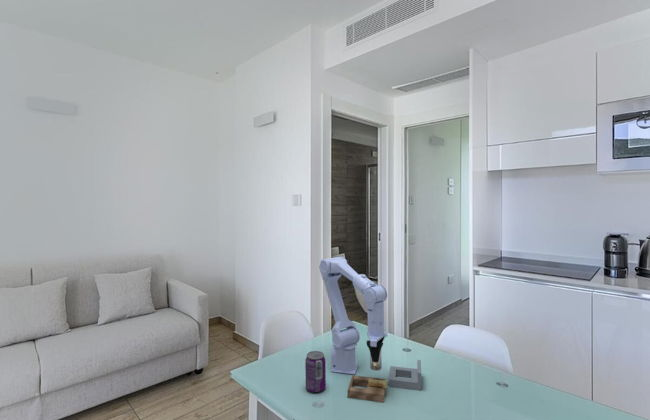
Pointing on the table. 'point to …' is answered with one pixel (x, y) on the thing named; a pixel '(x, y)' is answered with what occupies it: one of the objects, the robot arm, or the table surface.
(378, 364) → the steel peg
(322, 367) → the beverage can
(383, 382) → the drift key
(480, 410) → the table surface
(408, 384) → the grey square frame
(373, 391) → the socket block
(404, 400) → the table surface
